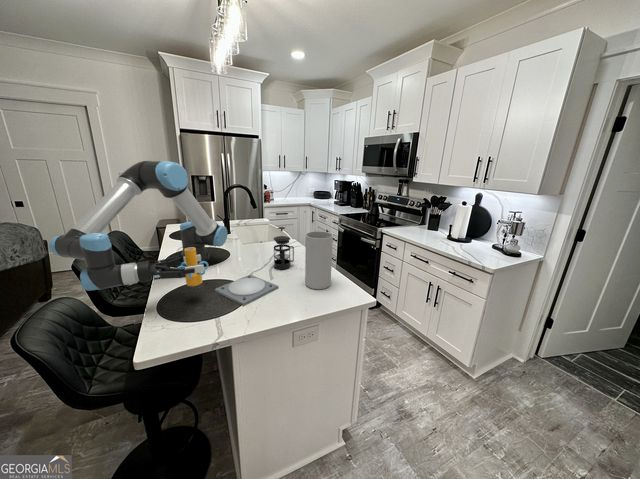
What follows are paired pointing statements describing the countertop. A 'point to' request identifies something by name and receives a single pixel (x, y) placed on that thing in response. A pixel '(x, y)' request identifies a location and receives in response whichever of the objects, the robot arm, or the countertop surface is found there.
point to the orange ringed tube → (192, 261)
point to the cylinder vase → (318, 259)
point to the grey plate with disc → (246, 289)
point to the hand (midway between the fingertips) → (202, 262)
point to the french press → (282, 252)
